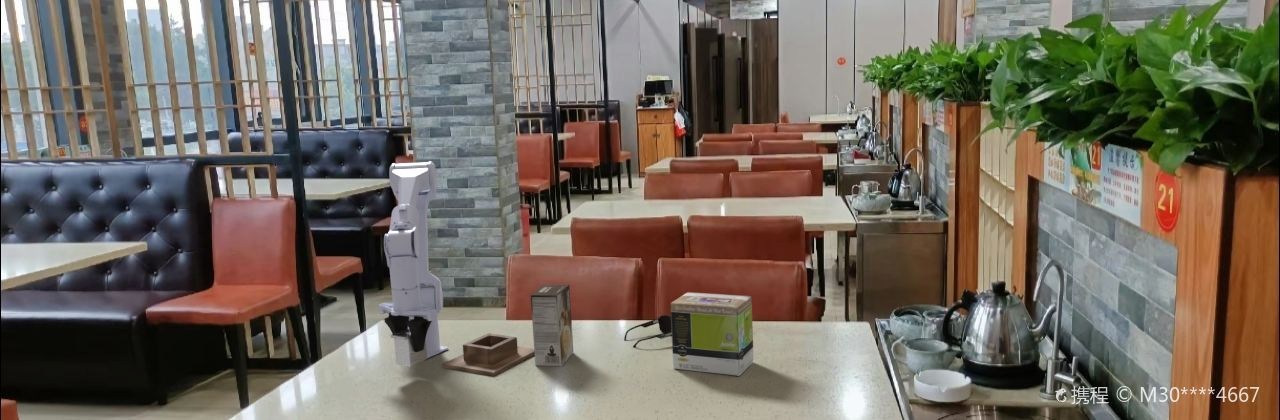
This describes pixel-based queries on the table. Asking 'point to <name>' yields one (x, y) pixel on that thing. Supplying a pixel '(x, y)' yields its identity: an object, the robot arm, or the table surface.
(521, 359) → the walnut holder
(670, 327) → the sunglasses
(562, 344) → the coffee box
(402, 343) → the pale gray rectangular block
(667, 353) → the table surface
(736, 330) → the tea box
